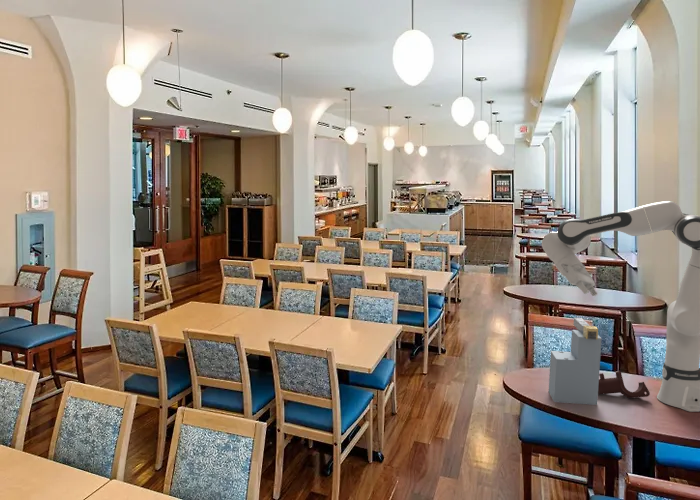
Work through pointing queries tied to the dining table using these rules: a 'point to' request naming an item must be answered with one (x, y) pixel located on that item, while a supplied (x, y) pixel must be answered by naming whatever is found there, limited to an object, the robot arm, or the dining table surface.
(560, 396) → the stepped stand
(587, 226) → the robot arm
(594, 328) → the bar
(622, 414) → the dining table surface
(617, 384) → the bracket
